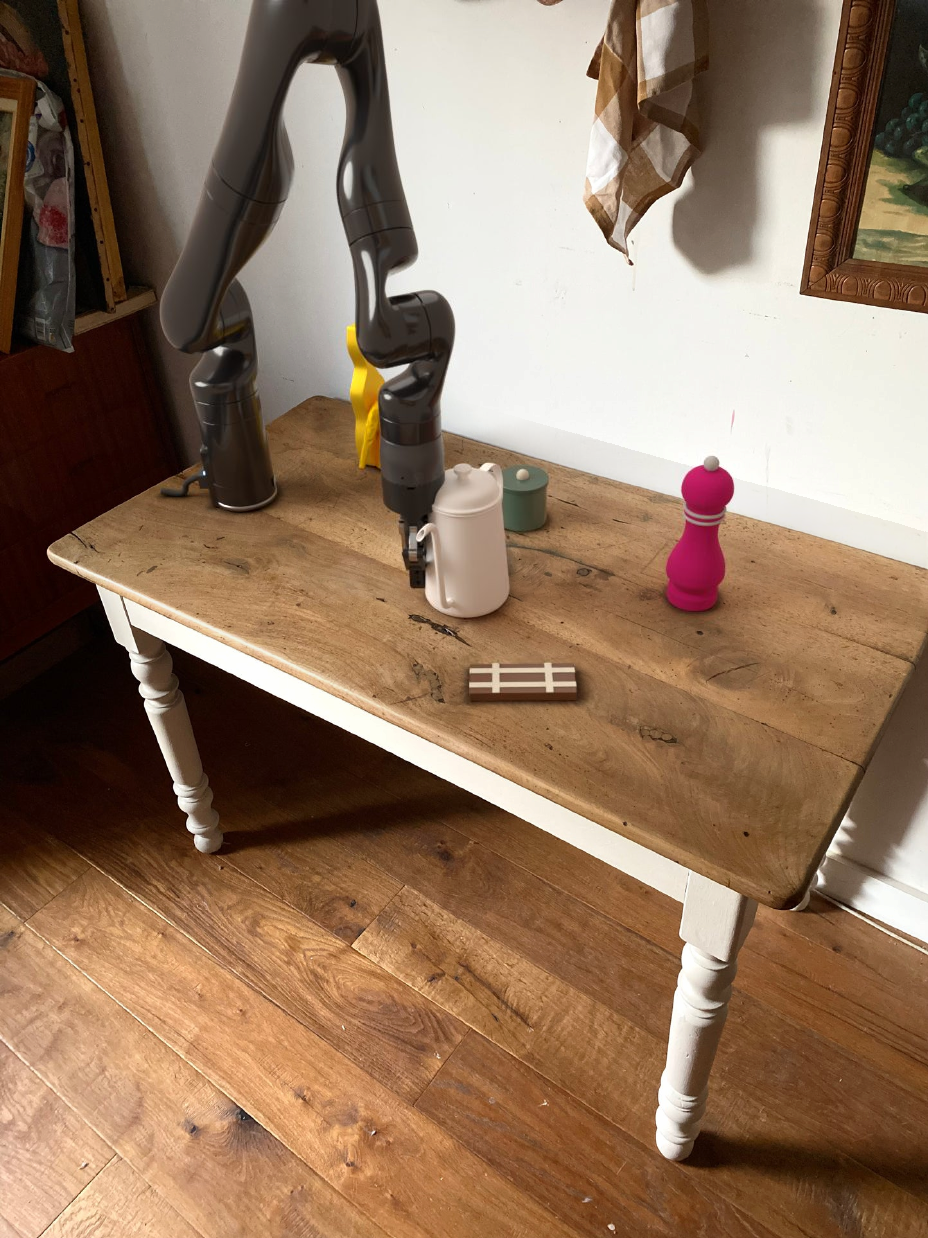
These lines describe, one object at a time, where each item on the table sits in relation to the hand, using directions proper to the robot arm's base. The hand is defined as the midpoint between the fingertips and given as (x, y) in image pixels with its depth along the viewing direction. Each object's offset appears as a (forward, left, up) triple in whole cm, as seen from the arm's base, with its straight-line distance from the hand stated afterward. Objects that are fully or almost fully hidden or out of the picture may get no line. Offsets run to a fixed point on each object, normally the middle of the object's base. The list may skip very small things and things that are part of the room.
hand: (418, 585), depth 118 cm
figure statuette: (-8, +37, -2) cm, 38 cm away
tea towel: (+13, -18, -2) cm, 22 cm away
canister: (+14, +18, -2) cm, 23 cm away
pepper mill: (+35, -1, -2) cm, 35 cm away
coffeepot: (+6, -1, -2) cm, 6 cm away
